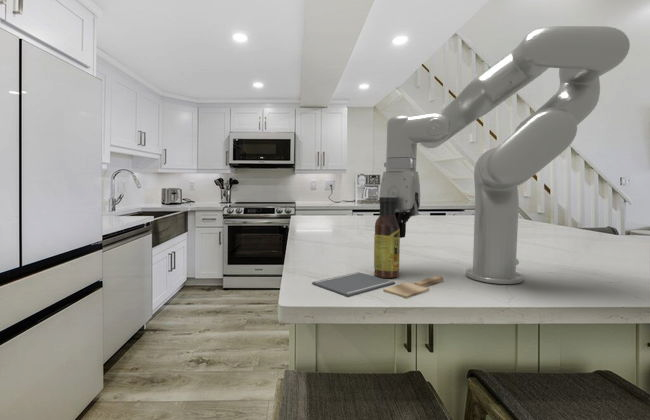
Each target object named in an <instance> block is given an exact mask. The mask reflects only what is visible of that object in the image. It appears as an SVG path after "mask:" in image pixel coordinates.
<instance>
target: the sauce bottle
mask: <svg viewBox="0 0 650 420" xmlns="http://www.w3.org/2000/svg"><path fill="white" fill-rule="evenodd" d="M378 198H379V199H378V204H379V203H380V206H379V216H378V218H377V219H376V220H375V224H374V237H373V238H374V243H373V244H374V245H373V246H374V247H373V248H374V249H373V252H374V253H373V255H374V256H373V260H374V261H373V263H374V264H373V268H374V272H373V273H374V275H375V277H378V278H382V279H392V278H393V279H394V278H397V277H398V276H399V272H400V271H399V270H400V245H401V240H400V239H401V238H400V228H399V225H398V222H397V219H396V216H395V213H396V212H395V202H396V197H380V196H379V197H378Z"/></svg>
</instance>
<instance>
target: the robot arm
mask: <svg viewBox="0 0 650 420" xmlns="http://www.w3.org/2000/svg"><path fill="white" fill-rule="evenodd" d="M630 44H631V43H630V39H629V37H628V35H627V34H626V33H625V32H624V31H623V30H621V29H618V28H616V27H611V26H605V25H604V26H603V25H601V26H597V25H596V26H595V25H587V26H586V25H585V26H584V25H576V26H575V25H562V26H561V25H557V26H553V25H552V26H543V27H539V28H537V29H534V30H532V31H531V32H529V33H528V34H527V35H526V36H525V37H524V38H523V39H522V41H521V42H520V43H519V44H518V45H517V46H516V47H515V48H514V49H513V50H511V51H510V52H508V54H505V55H504V56H503V57H502V58H501V59H500V60H498V61H496V62H495V63H494V64H492V65H491V66H490V67H488V68H487V69H486V70H484V71H483V72H482V73H480V74H479V75H478V76H476V77H475V78H473V80H472V81H470V82H469V83H467V85H466V86H465V87H464V88H463V90H462V91H461V92H460V93H459V94H458V95H457V96H456V97H455V98H454V99H453V100H452V101H451V102H449V104H446V106H445V107H443V108H442V109H441V110H440V111H438V112H432V113H431V112H430V113H426V114H425V113H424V114H419V115H413V116H412V115H395V116H392V117H390V118H389V119H388V120H387V125H386V159H385V160H386V161H385V162H384V163H383V167H384V168H385V171H383V174H382V177H381V182H380V188H379V197H396V202H395V216H396V219H397V222H398V225H399V228H400V239H401V238H405V237H406V232H407V231H406V229H407V228H406V226H407V223H408V222H409V220H410V219H411V217H416V216H418V215H419V209H420V206H421V187H420V186H421V184H420V177H419V176H420V175H419V171H417V154H418V153H417V151H418V149H417V148H418V144H420V145H421V146H423V147H424V148H427V149H435V148H438V147H440V146H441V145H443V144H444V143H446V142H447V141H448V140H450V139H451V138H452V137H454V136H455V135H457V134H458V133H459V132H461V131H463V130H464V129H465V128H466V127H468V126H469V125H471V124H473V122H474V123H475V121H477V120H478V119H480V118H481V117H482V118H483V116H485V115H487V114H488V113H490V112H492V110H493V109H496V107H498V106H499V105H501V104H502V103H503V102H505V101H506V100H508V99H509V98H510V97H512V96H513V95H515V94H516V93H517V92H519V91H520V90H521V89H523V88H524V87H526V86H527V85H529V84H530V83H532V82H533V81H534V80H536V79H537V78H538V77H540V76H541V75H542V74H544V73H545V72H546V71H547V70H548V69H549V68H552V69H558V76H559V77H558V78H559V87H558V90H557V91H556V93H555V94H553V96H552V97H550V98H549V99H548V100H547V101H546V102H545V103H544V104H542V105H541V106H540V107H539V108H538V109H537V110H536V111H535V112H533V113H532V114H531V115H529V116H528V117H526V118H525V119H523V121H521V122H520V123H519V125H518V126H517V127H516V129H515V130H514V132H513V133H512V134H511V135H510V136H508V137H507V138H506V139H505V140H504V141H502V143H500V144H499V145H497V146H496V147H493V148H490V149H489V150H487V151H485V152H484V153H482V154H481V155H480V156H479V157H478V159H477V160H476V162H475V166H474V171H473V181H474V218H473V219H474V220H473V221H474V224H473V225H474V226H473V249H472V250H473V252H472V253H473V254H472V256H473V257H472V267H470V268H467V269H466V270H465V275H466V277H468V278H469V279H471V280H474V281H475V280H476V281H478V282H482V283H488V284H489V283H490V284H499V285H514V284H515V285H516V284H520V283H522V282H523V280H524V275H523V274H521V273H520V272H516V271H517V266H518V265H519V263H520V261H519V260H518V258H517V251H518V249H517V247H518V227H519V225H518V224H519V207H520V204H519V203H520V202H519V190H518V186H521V185H523V184H524V183H525V182H527V181H529V180H530V179H531V178H533V177H534V176H535V175H536V174H538V173H539V172H540V171H541V170H543V169H544V168H545V167H547V165H549V164H550V163H551V162H552V161H554V160H555V159H556V158H557V157H559V156H560V155H561V154H562V153H564V152H565V151H566V150H567V149H568V148H569V147H570V145H571V144H572V143H573V142H574V140H575V138H576V136H577V133H578V125H579V124H580V123H582V122H583V121H584V120H585V119H587V118H588V116H589V115H590V114H592V112H593V111H594V110H595V108H596V106H597V105H598V102H599V101H600V100H599V99H600V93H601V82H600V77H601V76H603V75H605V74H607V73H608V72H610V71H612V70H613V69H615V68H617V67H618V66H619V65H620V64H621V63H623V61H624V60H625V59H626V57H627V55H628V54H629V51H630V48H631V47H630ZM378 204H379V207H380V203H379V202H378Z"/></svg>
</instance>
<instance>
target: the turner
mask: <svg viewBox="0 0 650 420" xmlns="http://www.w3.org/2000/svg"><path fill="white" fill-rule="evenodd" d="M442 282H444V276H441V275H437V274H436V275H434V276H430V277H428V278H424V279H421V280H417V281H415V282H414V283H410V282H407V281H406V282H402V283H400V284H395V285H393V286H392V285H391V286H390V287H385V288H383V292H384V293H387V294H390V295H393V296H397V297H401V298H404V299H409V298H412V297H415V296H418V295H421V294H425V293H427V292H430V288H429V287H430V286H434V285H436V284H439V283H442Z"/></svg>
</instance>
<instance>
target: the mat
mask: <svg viewBox="0 0 650 420" xmlns="http://www.w3.org/2000/svg"><path fill="white" fill-rule="evenodd" d="M311 285H313V286H317V287H319V288H322V289H325V290H327V291H330V292H334V293H336V294H340V295H342V296H345V297H347V298H349V297H353V296H356V295H357V296H358V295H360V294H363V293H367V292H370V291H375V290H377V289H381V288H387V287H388V286H392V285H393V286H394V285H396V281H393V280H389V279H387V278H381V277H377V276H376V275H375V276H374V275H371V274H366V273H364V272H359V271H357V272H353V273H349V274H347V273H346V274H343V275H339V276H334V277H330V278H326V279H320V280H316V281H312V282H311Z"/></svg>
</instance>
